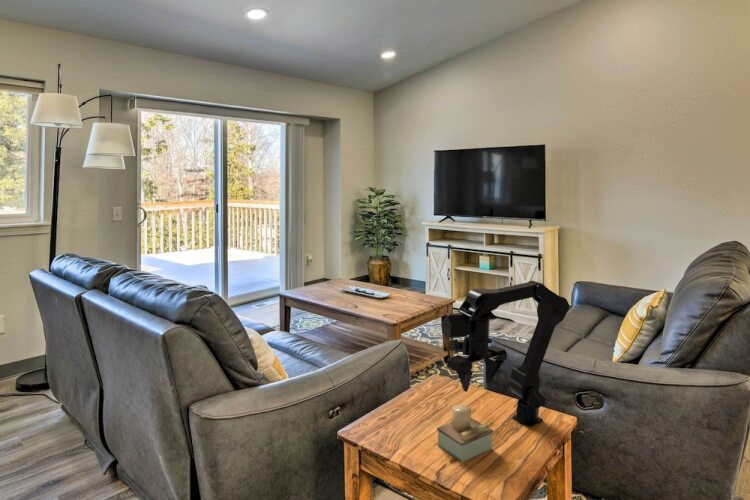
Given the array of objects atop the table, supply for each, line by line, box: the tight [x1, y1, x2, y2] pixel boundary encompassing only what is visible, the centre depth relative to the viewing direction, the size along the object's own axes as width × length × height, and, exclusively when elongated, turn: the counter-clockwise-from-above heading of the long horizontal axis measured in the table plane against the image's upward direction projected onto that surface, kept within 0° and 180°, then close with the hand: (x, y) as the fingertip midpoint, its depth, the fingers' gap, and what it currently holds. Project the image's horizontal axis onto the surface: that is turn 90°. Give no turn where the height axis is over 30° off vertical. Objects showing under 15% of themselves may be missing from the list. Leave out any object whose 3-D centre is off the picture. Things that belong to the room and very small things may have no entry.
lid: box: [436, 417, 494, 446], centre depth 122 cm, size 12×9×2 cm
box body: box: [437, 430, 493, 463], centre depth 122 cm, size 11×9×4 cm
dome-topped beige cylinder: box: [451, 404, 472, 431], centre depth 123 cm, size 5×5×5 cm
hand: (476, 387), depth 130 cm, fingers open, 9 cm apart
